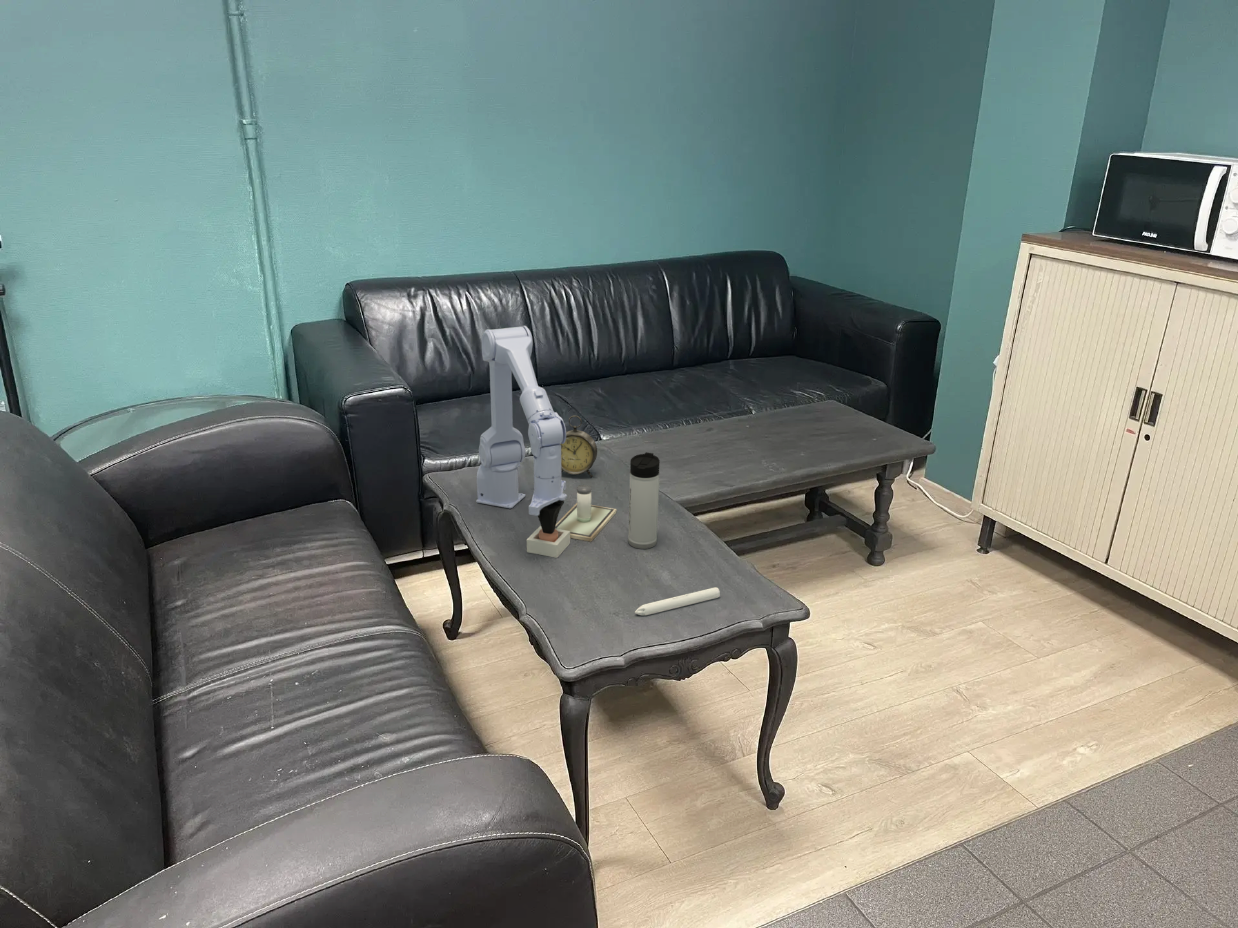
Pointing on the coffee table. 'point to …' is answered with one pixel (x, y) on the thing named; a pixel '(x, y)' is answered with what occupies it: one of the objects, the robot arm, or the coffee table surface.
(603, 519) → the picture frame
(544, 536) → the button
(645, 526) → the travel mug
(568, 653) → the coffee table surface
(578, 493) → the cylinder
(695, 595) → the marker
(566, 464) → the alarm clock
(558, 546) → the button housing
